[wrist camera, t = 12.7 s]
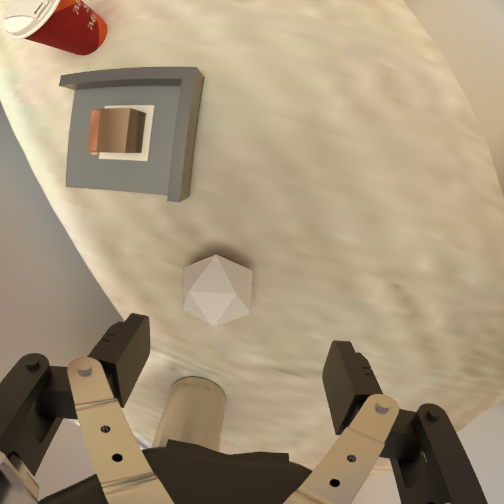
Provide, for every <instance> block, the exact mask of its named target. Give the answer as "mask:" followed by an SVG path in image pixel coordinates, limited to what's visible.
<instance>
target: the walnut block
mask: <svg viewBox="0 0 504 504" xmlns="http://www.w3.org/2000/svg"><path fill="white" fill-rule="evenodd" d="M145 119H146V113H144V112H141V111H138V110H135V109H132V108H104V109H92V112H91V119H90V127H89V136H88V147H87V152H107V153H142V144H143V135H144V127H145Z"/></svg>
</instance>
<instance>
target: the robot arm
mask: <svg viewBox="0 0 504 504" xmlns="http://www.w3.org/2000/svg"><path fill="white" fill-rule="evenodd" d="M149 353H150V325H149V317H148V316H145V315H140V314H135V313H131V314H130V316H129V317H128V318H127V320H126V321H125V322H124V323H123V322H118V323H116V324H114V325H112V326H111V327H110V328H109V329H108V330H107V332H106V333H105V334H104V336H103V337H102V338H101V340H100V341H99V342H98V343H97V345H96V346H95V347H94V349H93V350H92V352H91V353H90V354H89V355H88V357H82V358H77V359H75V360H73V361H72V362H71V363H70V364H69V365H68V367H58V366H50V365H49V361H48V359H47V358H46V357H45V356H44V355H41V354H37V353H32V354H28V355H25V356H23V357H22V358H21V359H20V360H19V361H18V362H17V363H16V364H15V366H14V367H13V368H12V369H11V371H10V372H9V373H8V374H7V375H6V377H5V378H4V379H3V380H2V381H1V383H0V504H351V503H352V501H353V500H354V498H355V497H356V495H357V493H358V492H359V490H360V489H361V487H362V485H363V484H364V482H365V480H366V479H367V477H368V475H369V473H370V472H371V470H372V468H373V466H374V464H375V463H376V461H377V459H378V457H384V458H390V461H391V465H392V468H393V472H394V476H395V479H396V484H397V488H398V492H399V496H400V500H401V504H487V501H486V498H485V496H484V493H483V491H482V488H481V486H480V484H479V481H478V479H477V477H476V474H475V472H474V470H473V468H472V466H471V463H470V461H469V459H468V457H467V455H466V452H465V450H464V448H463V446H462V444H461V442H460V440H459V438H458V436H457V434H456V432H455V430H454V428H453V426H452V424H451V422H450V420H449V418H448V416H447V414H446V412H445V411H444V410H443V409H442V408H441V407H439V406H437V405H435V404H430V403H427V404H423V405H421V406H420V407H419V409H418V410H417V412H413V411H407V410H402V409H399V406H398V404H397V402H396V401H395V400H394V399H392V398H391V397H389V396H387V395H383V393H382V390H381V388H380V386H379V384H378V382H377V380H376V377H375V375H374V373H373V371H372V369H371V367H370V364H369V362H368V360H367V359H366V358H365V357H364V356H363V355H362V354H361V353H355V351H354V348H353V346H352V344H351V342H350V341H335V340H334V341H333V342H332V344H331V347H330V350H329V353H328V356H327V359H326V362H325V365H324V369H323V384H324V388H325V392H326V396H327V400H328V404H329V408H330V412H331V417H332V421H333V425H334V429H335V434H336V435H340V437H339V438H338V440H337V441H336V442H335V444H334V445H333V446H332V448H331V449H330V450H329V452H328V453H327V454H326V455H325V457H324V458H323V459H322V461H321V462H320V463H319V464H318V466H317V467H316V468H315V469H314V470H313V471H312V470H310V469H308V468H306V467H304V466H302V465H300V464H297V463H294V462H290V461H289V454H288V453H271V452H253V453H243V454H233V455H227V454H223V453H220V452H219V447H220V439H221V431H222V424H223V417H224V409H225V400H226V399H225V395H224V393H223V391H222V390H221V389H220V387H218V386H217V385H216V384H214V383H213V382H211V381H209V380H206V379H203V378H198V377H187V378H183V379H180V380H178V381H177V382H175V383H174V385H173V386H172V388H171V391H170V394H169V397H168V400H167V403H166V405H165V408H164V411H163V414H162V417H161V420H160V423H159V426H158V429H157V432H156V435H155V438H154V441H153V444H152V447H151V448H148V449H144V450H141V449H140V447H139V445H138V443H137V441H136V439H135V437H134V435H133V433H132V431H131V429H130V427H129V424H128V422H127V420H126V418H125V416H124V414H123V411H122V409H121V408H124V406H125V404H126V402H127V400H128V398H129V396H130V394H131V392H132V390H133V387H134V385H135V383H136V381H137V379H138V377H139V375H140V373H141V371H142V369H143V367H144V365H145V363H146V361H147V359H148V357H149ZM63 418H67V419H78V420H79V423H80V427H81V430H82V433H83V436H84V440H85V443H86V446H87V449H88V451H89V455H90V457H91V460H92V463H93V465H94V468H95V471H96V474H94V475H92V476H90V477H88V478H86V479H84V480H82V481H80V482H78V483H76V484H74V485H72V486H69V487H67V488H65V489H63V490H61V491H58V492H56V493H54V494H51V495H49V496H47V497H45V498H43V499H42V500H40V501H39V502H38V494H39V485H38V482H37V481H36V479H35V478H34V476H35V474H36V472H37V470H38V468H39V466H40V463H41V461H42V459H43V457H44V455H45V453H46V451H47V449H48V447H49V445H50V443H51V441H52V439H53V437H54V435H55V433H56V431H57V429H58V428H59V425H60V424H61V422H62V420H63ZM424 455H425V457H424ZM425 458H426V459H425ZM426 461H427V462H426Z"/></svg>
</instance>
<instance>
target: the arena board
mask: <svg viewBox="0 0 504 504" xmlns="http://www.w3.org/2000/svg"><path fill="white" fill-rule="evenodd" d="M203 82H204V76H203V75H202V74H201V72H200V71H199V70H198V68H197V67H141V68H122V69H109V70H99V71H90V72H81V73H74V74H67V75H61V79H60V84H59V86H62V87H66V88H70V89H73V90H75V94H74V101H73V108H72V115H71V123H70V132H69V142H68V154H67V170H66V187H74V188H89V189H103V190H116V191H128V192H139V193H150V194H160V195H168V199H167V201H172V202H181V201H183V200H184V199H186V198H188V197H189V190H190V180H191V171H192V162H193V153H194V145H195V137H196V130H197V122H198V115H199V108H200V101H201V94H202V88H203ZM104 108H132V109H135V110H138V111H141V112H144V113H146V119H145V127H144V135H143V144H142V153H107V152H87V147H88V136H89V127H90V119H91V112H92V109H104Z"/></svg>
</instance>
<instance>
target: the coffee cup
mask: <svg viewBox="0 0 504 504" xmlns="http://www.w3.org/2000/svg"><path fill="white" fill-rule="evenodd" d="M4 28H5V30H6V31H7V32H8V34H9V35H10V37H11V38H13V39H17V40H19V39H23V38H24V39H27V40H31V41H35V42H38V43H42V44H45V45H48V46H52V47H55V48H58V49H61V50H64V51H68V52H71V53H74V54H78V55H87V54H90V53H92V52H94V51H95V50H96V49H98V48H99V47H100V45H101V44H102V43H103V41H104V40H105V37H106V34H107V26H106V24H105V22H104V21H103V20H102V19H101V18H100V17H99V16H98V15H97V14H96V13H95V12H94V11H92V10H91V9H90V8H89V7H88V6H87V5H86V4H85V3H84V2H83V1H82V0H12V1H11V3H10V4H9V6H8V8H7V11H6V14H5V17H4Z"/></svg>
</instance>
